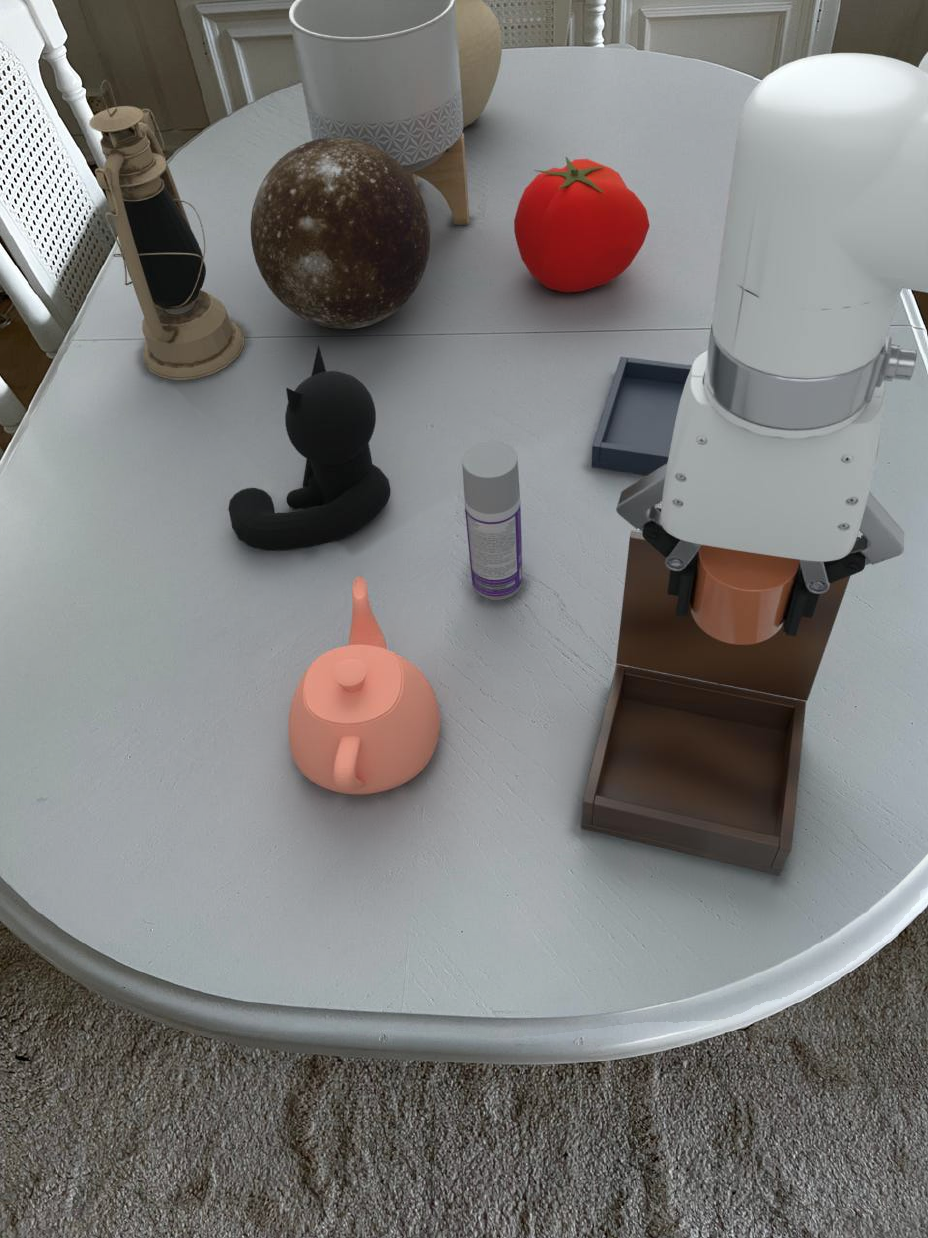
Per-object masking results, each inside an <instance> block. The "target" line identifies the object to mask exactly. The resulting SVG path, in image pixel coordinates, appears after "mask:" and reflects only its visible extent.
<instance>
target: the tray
mask: <svg viewBox="0 0 928 1238" xmlns="http://www.w3.org/2000/svg"><path fill="white" fill-rule="evenodd" d="M692 365H693V364H686V363H684V364H683V363H675V362H668V361H661V360H651V359H643V358H635V357H627V356H620V358H619V360H618V364H617V368H616V371H615V374H614V377H613V380H612V383H611V386H610V389H609V393H608V396H607V399H606V401H605V405H604V408H603V411H602V415H601V418H600V421H599V423H598V427H597V431H596V434H595V436H594V440H593V443H592V446H591V447H592V448H591V465H590V466H591V468H596V469H603V470H604V469H605V470H609V471H616V472H622V473H629V474H636V475H643V476H647V475H649V474H650V473H652V472H653V471H655V470H657V469H658V468H660V467H661V466H663V465H665V464H666V463H668V458H669V452H670V447H671V442H672V436H673V431H674V426H675V421H676V416H677V412H678V408H679V403H680V399H681V396H682V393H683V389H684V386H685V383H686V380H687V377H688V375H689V372H690V370H691V367H692Z"/></svg>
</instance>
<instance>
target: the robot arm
mask: <svg viewBox="0 0 928 1238" xmlns="http://www.w3.org/2000/svg"><path fill="white" fill-rule="evenodd" d="M918 64H919V65H918V67H917V66H916V65H914V64H911V63H909V62H906V61H903V60H900V59H897V58H893V57H889V56H884V55H879V54H872V53H861V52H860V53H859V52H836V53H824V54H817V55H812V56H806V57H803V58H799V59H796V60H794V61H791V62H788V63H785V64H783V65H782V66H779V68H777V69H775V70H774V71H772V72H770V73H769V74H767V75H766V76H765V77H764V78H763V79H761V80H760V81H759V83H758V84H757V85H756V86H755V87H753V89H752V92H751V93H750V94H749V96H748V98H747V100H746V101H745V103H744V105H743V108H742V110H741V114H740V116H739V122H738V128H737V133H736V139H735V145H734V151H733V152H734V153H733V158H732V159H733V160H732V167H731V175H730V183H729V189H728V190H729V191H728V196H727V197H728V198H727V206H726V212H725V220H724V227H723V233H722V241H721V250H720V257H719V266H718V270H717V271H718V273H717V279H716V286H715V287H716V288H715V295H714V304H713V308H712V309H713V310H712V318H711V323H710V324H711V326H710V332H709V338H708V339H709V341H708V347H707V350H706V351H705V350H704V352H702V353H700V354H699V355H698V356H697V357H696V358H695V359H694V361H693V363H692V364H691V365H692V367H691V370H690V372H689V375H688V377H687V380H686V383H685V386H684V389H683V393H682V396H681V399H680V403H679V408H678V412H677V416H676V421H675V426H674V431H673V436H672V442H671V447H670V452H669V458H668V463H666V464H665V465H663V466H661V467H660V468H658V469H657V470H655V471H653V472H652V473H650V474H649V475H644V476H643V477H642V478H641V479H639V480H637V481H636V482H634V483H632V484H631V485H629V486H628V487H627V488H625V489H623V490H621V492H620V493H619V497H618V501H617V505H616V508H615V511H616V513H617V514H618V515H619V516H620V517H621V518H622V519H623V520H625V521H626V522H627V523H628V524H630V525H631V526H632V527H634V529H636V530H639V531H640V532H642V535H643V538H644V539H645V540H646V541H648V542H649V543H650V544H651V545H652V546H653V547H654V548H655V549H656V550H658V551H659V552H660V553H661V554H662V555H663V556H664V557H665V558H666V561H665V565H666V567H667V568H668V569H670V576H669V584H668V592H667V594H668V595H674V596H678V602H677V609H676V616H678V617H684V615H686V616H688V612H689V607H690V602H691V596H692V589H693V583H694V576H695V570H696V563H697V556H698V551H699V550H700V548H701V547H702V546H703V545H707V546H713V547H719V548H725V549H731V550H738V551H744V552H751V553H757V554H764V555H771V556H777V557H784V558H792V559H799V562H800V566H799V570H798V573H797V577H796V580H795V584H794V588H793V591H792V595H791V598H790V602H789V606H788V609H787V613H786V616H785V622H784V630H783V632H785V633H786V635H789V636H796V633H797V630H798V627H799V623H800V620H801V617H806V618H812V617H813V614H814V611H815V608H816V604H817V601H818V598H819V595H820V594H822V593H825V592H827V591H828V589H829V584H830V583H833V582H835V581H838V580H840V579H843V578H846V577H848V576H850V577H851V576H853V575H855V574H858V573H860V572H861V573H862V572H863V570H865V568H866V566H867V565H871V566H872V565H873V566H874V565H877V564H879V563H881V562H882V563H883V562H884V561H887V560H890V559H893V558H896V557H899V556H901V555H902V554H903V553H904V549H905V532H904V530H903V528H902V527H901V526H900V525H899V523H897V521H896V520H895V519H894V518H893V517H892V516H891V515H890V514H889V512H888V510H886V509H885V507H884V506H883V505H882V504H881V503H880V502H879V501H878V499H877V498H876V497H875V496H874V494H873V493H871V487H872V482H873V478H874V473H875V469H876V464H877V458H878V452H879V446H880V440H881V431H882V425H883V421H884V418H885V408H886V382H893V380H903V381H910V380H911V379H912V377H913V375H914V370H915V368H916V363H917V356H918V353H917V352H918V350H917V349H910V348H902V347H901V346H900V344H892V336H889V333H890V329H891V327H892V323H893V320H894V316H895V313H896V310H897V306H898V303H899V301H900V296H901V294H902V289H905V290H910V291H916V292H921V293H927V294H928V51H927V52H926V53H925V54H924V56H923V57H922V59H921V61H920V62H919V63H918ZM660 503H661V508H660V507H656V506H657V505H658V504H660ZM859 533H861V536H859Z"/></svg>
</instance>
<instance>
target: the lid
mask: <svg viewBox="0 0 928 1238" xmlns="http://www.w3.org/2000/svg"><path fill="white" fill-rule="evenodd" d="M628 541H629V542H628V550H627V557H626V558H627V560H626V568H625V578H624V586H623V595H622V596H623V597H622V605H621V615H620V623H619V632H618V641H617V650H616V659H615V663H616V664H615V665H617V664H618V665H623V666H629V667H634V668H639V669H644V670H649V671H654V672H659V673H665V674H670V675H675V676H680V677H685V678H690V679H695V680H700V681H705V682H710V683H715V684H721V685H726V686H731V687H736V688H741V689H746V690H751V691H756V692H761V693H766V694H771V695H776V696H782V697H787V698H792V699H795V700H796V699H797V700H802V701H806V702H808V700H809V698H810V694H811V692H812V689H813V686H814V683H815V680H816V678H817V675H818V672H819V668H820V665H821V663H822V660H823V657H824V654H825V651H826V649H827V646H828V644H829V643H828V642H829V639H830V637H831V634H832V631H833V629H834V625H835V622H836V620H837V617H838V613H839V611H840V608H841V605H842V603H843V599H844V596H845V593H846V590H847V587H848V584H849V582H850V579H851V576H848V577H846V578H843V579H840V580H838V581H835V582H833V583H830V584H829V589H828V591H827V592H825V593H822V594H820V595H819V598H818V601H817V604H816V608H815V611H814V614H813V617H812V618H806V617H801V620H800V623H799V627H798V630H797V633H796V636H789V635H786V633H785V632H783V630H784V622H785V620H784V622H783V625H782V626H781V628H780V629H779V631H778V632H777V633H776V634H774V635H773V636H772V637H770V638H769V639H767V640H765V641H762V642H759V643H756V644H751V645H735V644H729V643H725V642H722V641H719V640H717V639H715V638H713V637H711V636H709V635H708V634H707V633H705V632H704V631H703V630H702V629H701V628H700V627H699V626H698V625H697V623H696V622H695V620H694V618H693V616H692V613H691V608H690V607H689V612H688V616H686V615H684V617H678V616H676V609H677V602H678V596H674V595H668V594H667V592H668V584H669V576H670V569H668V568H667V567H666V565H665V561H666V558H665V557H664V556H663V555H662V554H661V553H660V552H659V551H658V550H656V549H655V548H654V547H653V546H652V545H651V544H650V543H649V542H648V541H646V540H645V539H644V538H643V535H642V531H635V530H631V531H630V535H629V540H628ZM690 603H691V602H690Z"/></svg>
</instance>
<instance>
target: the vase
mask: <svg viewBox="0 0 928 1238" xmlns="http://www.w3.org/2000/svg"><path fill="white" fill-rule="evenodd" d="M455 5H456V20H457V35H458V50H459V65H460V80H461V95H462V110H463V129H464V128H467V127H468V126H470V125H472V124H473V123H474V122H475V121H477V119H478V118H479V117H480V116H481V115H482V113H483V112H484V111H485V108H486V107H487V104H488V103H489V100H490V98H491V95H492V93H493V90H494V87H495V85H496V81H497V79H498V75H499V71H500V66H501V62H502V61H501V60H502V54H503V53H502V51H503V37H502V32H501V27H500V24H499V21H498V19H497V17H496V15H495V14H494V12H493V11H492V9H491V8H490V7H489V6H488V5H487V4H486V3H485V2H483V1H482V0H455Z"/></svg>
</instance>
